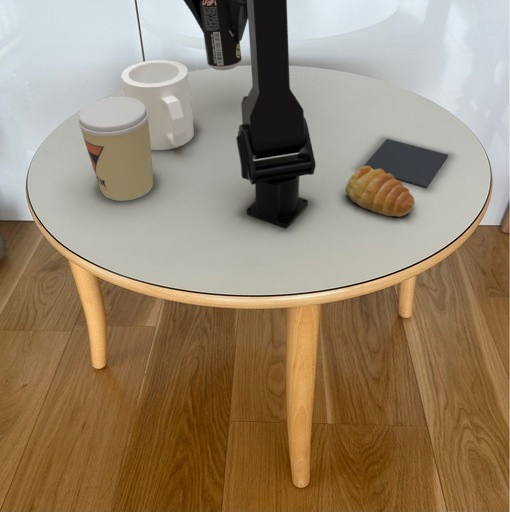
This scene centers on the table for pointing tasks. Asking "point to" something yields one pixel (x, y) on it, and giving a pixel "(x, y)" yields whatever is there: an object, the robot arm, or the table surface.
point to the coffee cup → (118, 146)
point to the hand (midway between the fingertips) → (223, 38)
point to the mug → (162, 100)
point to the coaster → (407, 162)
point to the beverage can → (219, 35)
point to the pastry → (379, 192)
